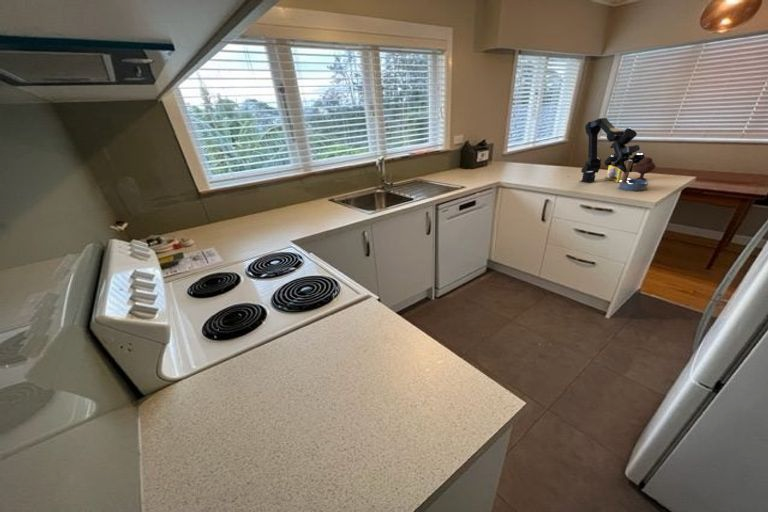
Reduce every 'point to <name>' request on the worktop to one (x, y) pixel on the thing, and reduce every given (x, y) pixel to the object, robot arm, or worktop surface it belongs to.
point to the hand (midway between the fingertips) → (628, 172)
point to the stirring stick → (625, 175)
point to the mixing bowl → (634, 185)
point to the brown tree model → (644, 167)
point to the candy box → (614, 173)
